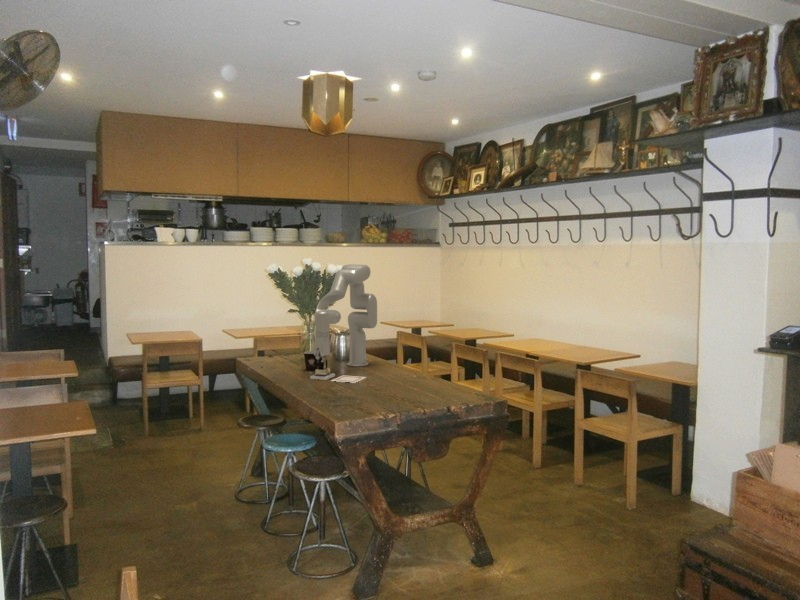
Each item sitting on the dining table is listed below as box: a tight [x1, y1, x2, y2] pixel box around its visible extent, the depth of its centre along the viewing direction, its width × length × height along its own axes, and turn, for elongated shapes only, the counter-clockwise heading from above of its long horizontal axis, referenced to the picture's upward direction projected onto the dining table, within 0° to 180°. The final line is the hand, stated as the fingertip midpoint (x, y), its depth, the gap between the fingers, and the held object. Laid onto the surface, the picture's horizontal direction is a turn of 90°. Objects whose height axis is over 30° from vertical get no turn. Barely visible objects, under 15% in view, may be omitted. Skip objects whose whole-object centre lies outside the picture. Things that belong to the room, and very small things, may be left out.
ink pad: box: [309, 372, 336, 381], centre depth 330 cm, size 11×9×2 cm
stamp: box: [314, 355, 331, 376], centre depth 330 cm, size 6×5×12 cm
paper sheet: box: [330, 374, 368, 384], centre depth 326 cm, size 15×14×1 cm
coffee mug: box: [303, 350, 318, 372], centre depth 350 cm, size 12×9×10 cm
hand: (322, 368), depth 330 cm, fingers closed on stamp, 3 cm apart
